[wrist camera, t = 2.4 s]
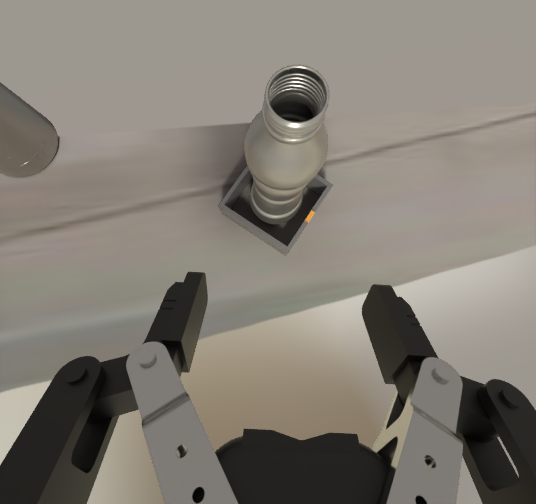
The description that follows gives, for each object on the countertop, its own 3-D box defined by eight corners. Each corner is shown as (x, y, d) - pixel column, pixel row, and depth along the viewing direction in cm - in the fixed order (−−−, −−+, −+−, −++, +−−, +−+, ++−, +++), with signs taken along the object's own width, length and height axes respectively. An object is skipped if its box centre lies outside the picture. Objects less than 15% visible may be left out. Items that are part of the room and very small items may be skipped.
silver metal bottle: (308, 199, 34) (379, 85, 14) (277, 238, 33) (306, 174, 13) (271, 170, 34) (289, 18, 14) (239, 208, 34) (213, 102, 14)
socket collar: (222, 213, 33) (217, 204, 29) (264, 154, 35) (264, 138, 31) (285, 255, 33) (289, 252, 29) (325, 194, 34) (334, 183, 30)
